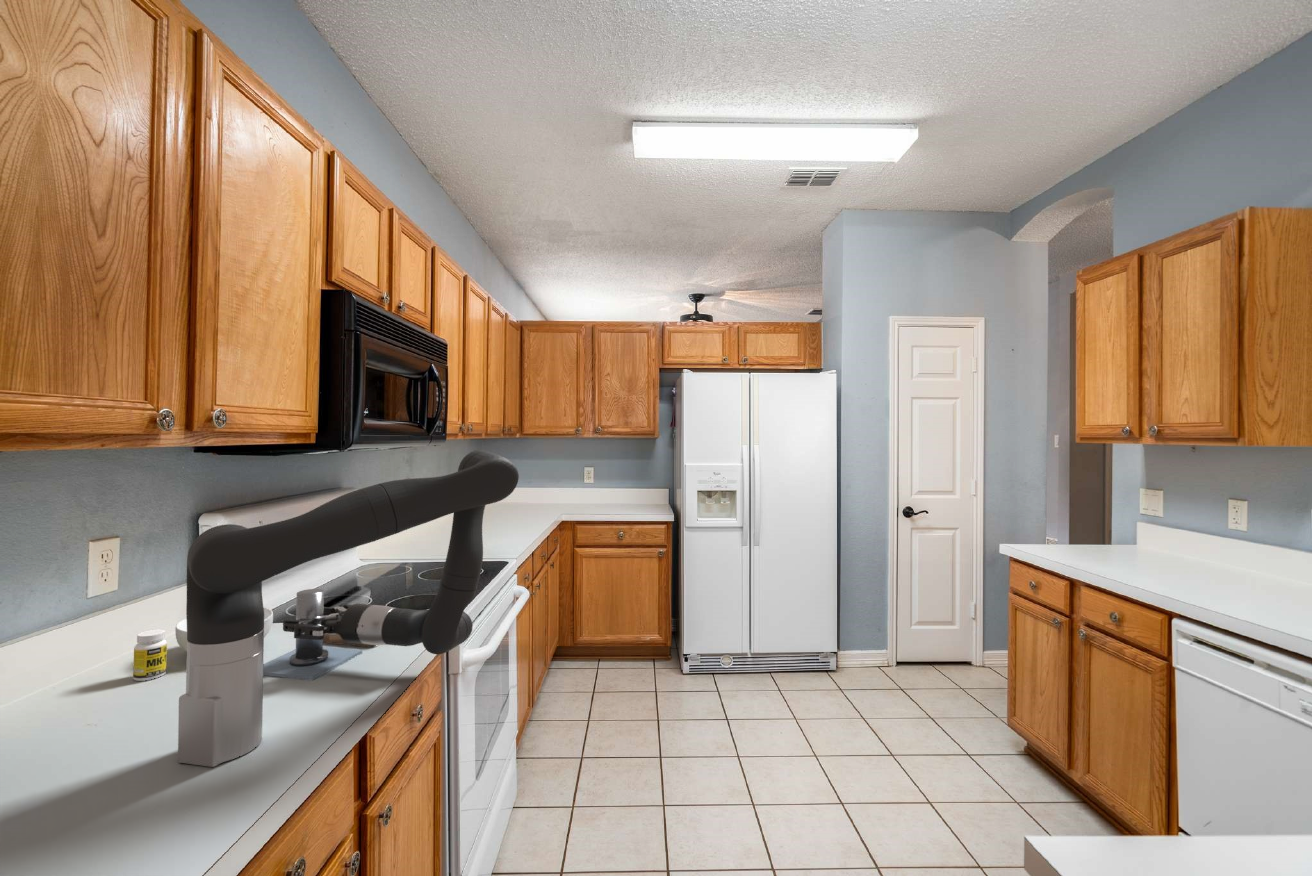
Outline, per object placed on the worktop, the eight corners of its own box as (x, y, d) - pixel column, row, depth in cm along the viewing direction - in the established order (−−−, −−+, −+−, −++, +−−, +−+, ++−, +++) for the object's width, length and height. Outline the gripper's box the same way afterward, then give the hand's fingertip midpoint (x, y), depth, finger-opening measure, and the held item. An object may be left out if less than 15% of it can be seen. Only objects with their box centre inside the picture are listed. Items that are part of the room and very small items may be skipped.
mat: (312, 680, 109) (312, 677, 109) (249, 673, 111) (249, 670, 111) (362, 652, 122) (362, 650, 122) (305, 647, 125) (305, 644, 125)
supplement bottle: (146, 683, 106) (147, 638, 106) (126, 680, 107) (127, 635, 107) (172, 672, 111) (173, 629, 111) (153, 670, 112) (154, 627, 112)
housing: (374, 647, 126) (375, 636, 126) (315, 641, 128) (315, 630, 128) (414, 625, 141) (414, 615, 141) (360, 620, 143) (360, 610, 143)
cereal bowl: (155, 658, 117) (155, 624, 117) (237, 632, 133) (237, 602, 133) (212, 671, 112) (212, 635, 112) (290, 642, 127) (291, 611, 127)
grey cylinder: (311, 668, 113) (312, 597, 113) (281, 664, 114) (282, 595, 114) (335, 655, 119) (337, 588, 119) (307, 652, 121) (308, 586, 121)
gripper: (394, 596, 121) (327, 591, 124) (347, 617, 107) (272, 610, 110) (393, 631, 121) (326, 625, 124) (346, 656, 107) (271, 649, 110)
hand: (301, 618), depth 117 cm, fingers open, 8 cm apart
